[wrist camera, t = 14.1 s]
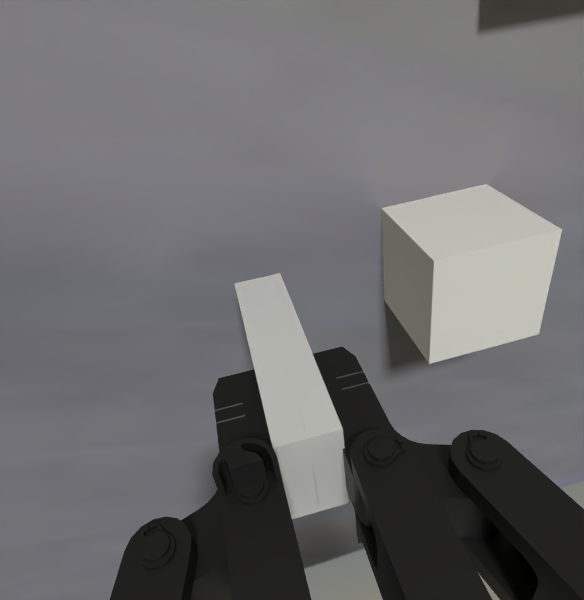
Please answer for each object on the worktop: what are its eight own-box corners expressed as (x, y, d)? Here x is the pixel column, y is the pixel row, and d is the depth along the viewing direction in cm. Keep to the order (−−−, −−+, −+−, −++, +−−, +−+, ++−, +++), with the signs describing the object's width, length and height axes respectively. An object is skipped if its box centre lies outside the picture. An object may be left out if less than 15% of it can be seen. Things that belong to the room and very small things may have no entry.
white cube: (383, 299, 19) (429, 364, 15) (380, 207, 16) (433, 261, 13) (488, 272, 19) (554, 330, 16) (500, 180, 17) (580, 224, 14)
